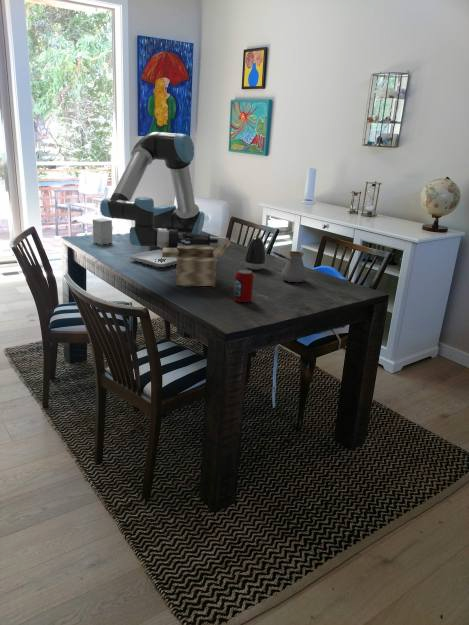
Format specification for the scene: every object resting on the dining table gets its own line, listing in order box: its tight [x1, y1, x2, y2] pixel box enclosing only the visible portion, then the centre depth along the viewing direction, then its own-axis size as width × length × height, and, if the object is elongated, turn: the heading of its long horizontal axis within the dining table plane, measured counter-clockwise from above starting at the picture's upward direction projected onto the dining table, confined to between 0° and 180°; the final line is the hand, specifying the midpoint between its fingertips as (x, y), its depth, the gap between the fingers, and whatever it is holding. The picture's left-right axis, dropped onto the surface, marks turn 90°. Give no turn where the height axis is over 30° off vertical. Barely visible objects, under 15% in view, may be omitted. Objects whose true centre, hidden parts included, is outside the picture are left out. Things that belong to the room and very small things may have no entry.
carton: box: [162, 245, 219, 288], centre depth 211 cm, size 22×24×13 cm
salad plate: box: [129, 250, 177, 268], centre depth 239 cm, size 21×21×3 cm
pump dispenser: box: [244, 236, 267, 271], centre depth 238 cm, size 10×10×15 cm
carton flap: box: [214, 237, 232, 260], centre depth 210 cm, size 8×13×1 cm
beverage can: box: [233, 268, 254, 303], centre depth 192 cm, size 7×7×12 cm
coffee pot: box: [271, 250, 308, 283], centre depth 220 cm, size 21×12×15 cm, turn 132°
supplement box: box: [92, 217, 113, 246], centre depth 266 cm, size 7×7×13 cm
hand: (225, 241), depth 208 cm, fingers closed
